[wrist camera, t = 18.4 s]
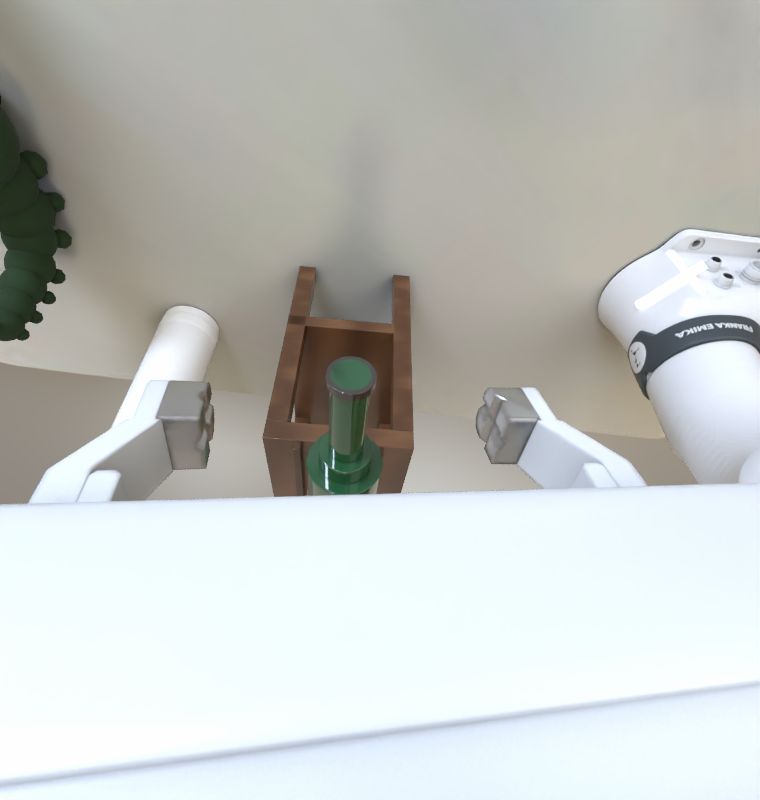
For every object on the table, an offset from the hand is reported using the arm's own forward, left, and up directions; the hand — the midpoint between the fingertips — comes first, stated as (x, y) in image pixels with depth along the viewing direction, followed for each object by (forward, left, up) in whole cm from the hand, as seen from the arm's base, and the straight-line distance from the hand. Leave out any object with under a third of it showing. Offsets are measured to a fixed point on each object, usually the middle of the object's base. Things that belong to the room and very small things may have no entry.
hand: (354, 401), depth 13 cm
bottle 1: (+30, +32, -40) cm, 60 cm away
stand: (+7, +34, -40) cm, 53 cm away
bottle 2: (+5, +24, -14) cm, 29 cm away
